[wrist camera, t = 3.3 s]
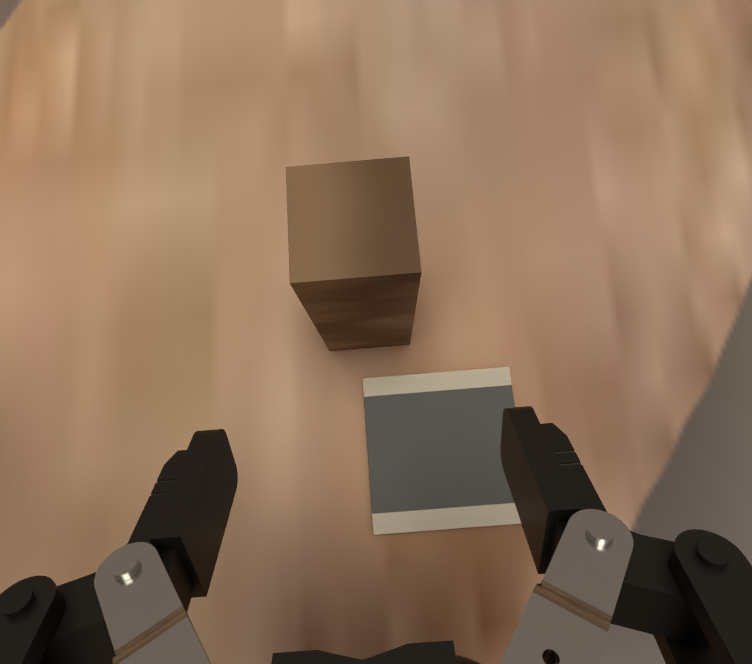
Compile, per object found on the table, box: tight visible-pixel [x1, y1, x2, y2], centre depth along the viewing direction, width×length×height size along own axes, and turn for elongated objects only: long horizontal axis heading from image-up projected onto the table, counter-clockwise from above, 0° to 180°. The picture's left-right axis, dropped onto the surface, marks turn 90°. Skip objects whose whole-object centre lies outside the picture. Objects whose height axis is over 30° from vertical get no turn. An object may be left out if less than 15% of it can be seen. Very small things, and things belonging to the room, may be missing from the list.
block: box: [286, 157, 421, 351], centre depth 23 cm, size 4×4×11 cm
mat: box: [363, 367, 521, 535], centre depth 26 cm, size 8×8×1 cm
